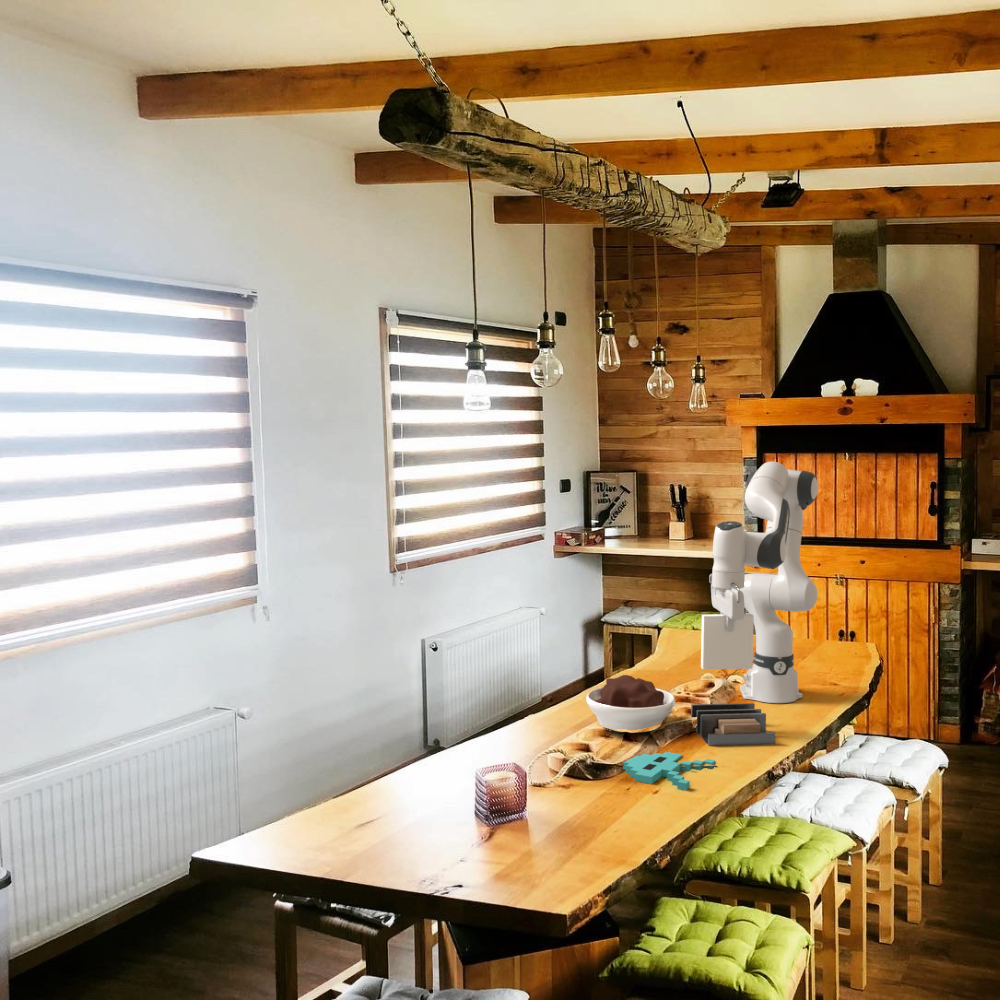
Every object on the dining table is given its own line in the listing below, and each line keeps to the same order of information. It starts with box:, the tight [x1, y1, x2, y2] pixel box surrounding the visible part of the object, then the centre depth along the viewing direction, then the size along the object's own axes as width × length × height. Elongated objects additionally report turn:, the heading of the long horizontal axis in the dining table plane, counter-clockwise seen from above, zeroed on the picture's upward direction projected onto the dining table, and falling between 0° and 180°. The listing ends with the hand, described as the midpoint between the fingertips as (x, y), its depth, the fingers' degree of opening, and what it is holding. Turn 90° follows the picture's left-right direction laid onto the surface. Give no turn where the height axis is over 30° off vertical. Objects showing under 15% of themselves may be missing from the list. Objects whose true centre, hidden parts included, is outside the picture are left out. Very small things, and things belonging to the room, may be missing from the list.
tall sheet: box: [700, 613, 754, 670], centre depth 307 cm, size 2×14×15 cm, turn 94°
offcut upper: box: [718, 719, 760, 733], centre depth 298 cm, size 5×10×2 cm, turn 95°
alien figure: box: [622, 751, 716, 791], centre depth 277 cm, size 20×2×20 cm
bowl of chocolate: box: [585, 674, 676, 730], centre depth 312 cm, size 25×25×15 cm
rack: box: [690, 702, 776, 747], centre depth 303 cm, size 19×18×7 cm
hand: (727, 629), depth 307 cm, fingers closed on tall sheet, 2 cm apart
